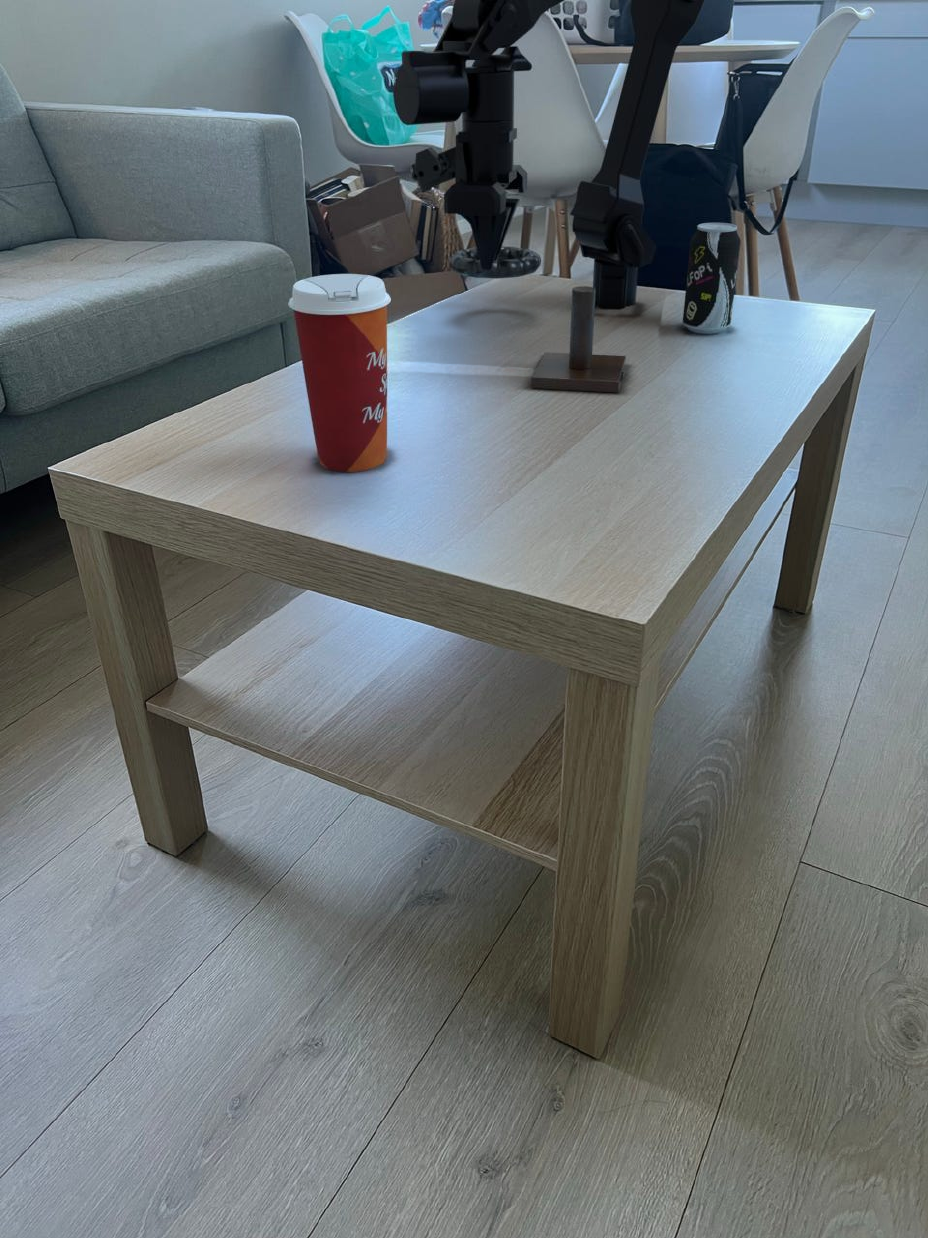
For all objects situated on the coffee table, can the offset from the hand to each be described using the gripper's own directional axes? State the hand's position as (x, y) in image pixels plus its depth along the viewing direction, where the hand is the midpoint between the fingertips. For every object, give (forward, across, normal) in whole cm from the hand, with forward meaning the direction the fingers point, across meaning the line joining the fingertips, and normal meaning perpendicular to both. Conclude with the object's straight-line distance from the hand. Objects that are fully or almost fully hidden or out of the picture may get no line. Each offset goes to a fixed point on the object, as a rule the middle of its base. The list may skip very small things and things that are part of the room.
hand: (488, 266), depth 114 cm
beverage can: (+8, -6, +26) cm, 28 cm away
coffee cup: (+8, +41, -4) cm, 42 cm away
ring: (0, -4, 0) cm, 5 cm away
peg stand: (+8, +15, +13) cm, 22 cm away
